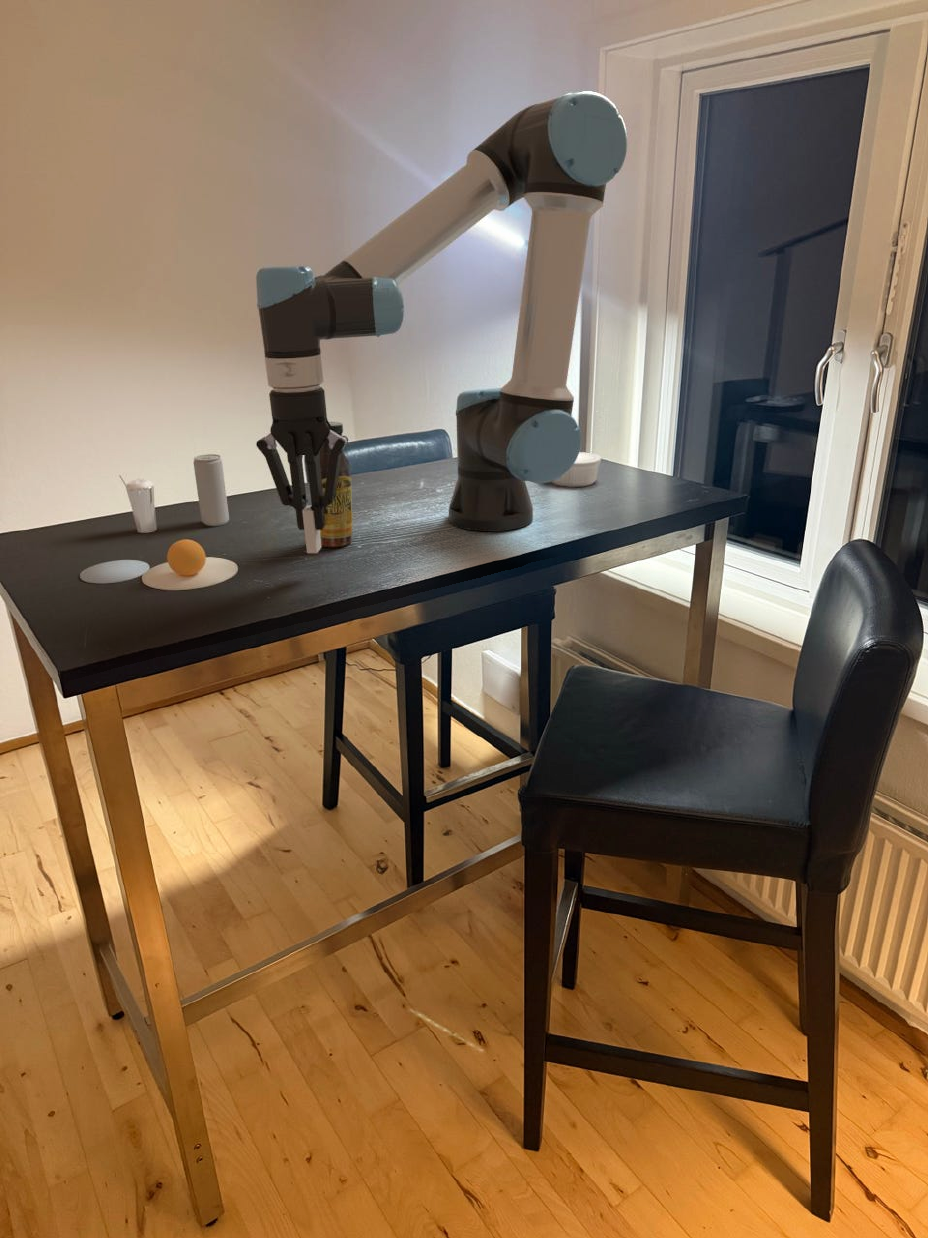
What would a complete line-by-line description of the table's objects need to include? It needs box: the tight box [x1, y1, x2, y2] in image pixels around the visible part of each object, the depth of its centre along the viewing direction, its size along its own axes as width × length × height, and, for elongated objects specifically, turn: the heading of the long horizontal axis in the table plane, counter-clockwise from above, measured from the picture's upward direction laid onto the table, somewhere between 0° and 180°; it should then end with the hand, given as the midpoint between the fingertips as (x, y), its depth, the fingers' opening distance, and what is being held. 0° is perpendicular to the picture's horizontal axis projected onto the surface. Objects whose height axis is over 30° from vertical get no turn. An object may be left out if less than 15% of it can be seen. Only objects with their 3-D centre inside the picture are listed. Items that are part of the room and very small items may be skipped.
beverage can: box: [193, 453, 230, 527], centre depth 152 cm, size 5×5×12 cm
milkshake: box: [119, 475, 157, 534], centre depth 149 cm, size 4×5×10 cm
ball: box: [166, 538, 207, 576], centre depth 128 cm, size 6×6×6 cm
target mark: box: [141, 556, 239, 591], centre depth 130 cm, size 14×14×1 cm
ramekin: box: [551, 451, 602, 488], centre depth 178 cm, size 11×11×5 cm
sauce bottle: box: [320, 421, 354, 548], centre depth 139 cm, size 7×6×20 cm
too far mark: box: [79, 559, 151, 585], centre depth 131 cm, size 10×10×1 cm
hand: (314, 550), depth 127 cm, fingers closed
